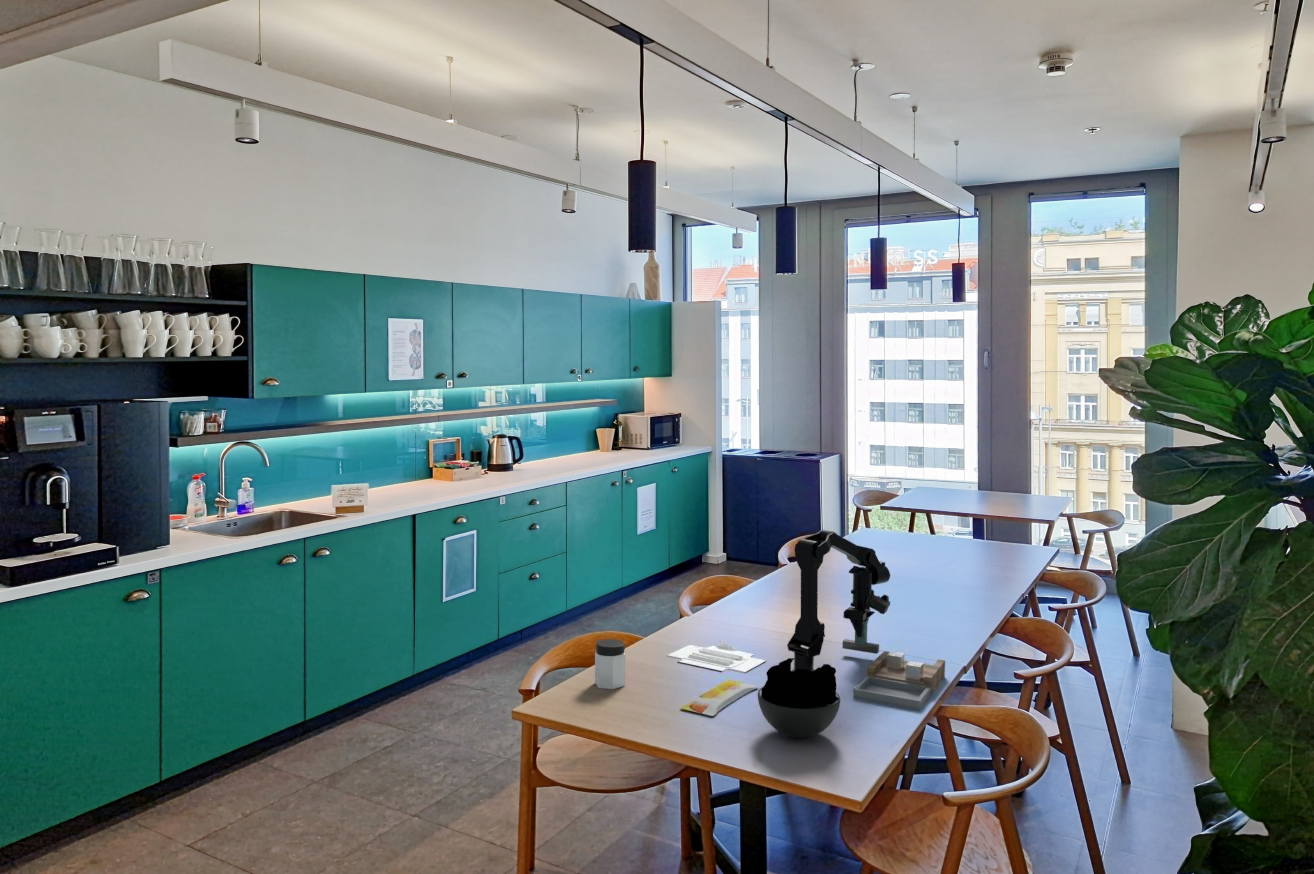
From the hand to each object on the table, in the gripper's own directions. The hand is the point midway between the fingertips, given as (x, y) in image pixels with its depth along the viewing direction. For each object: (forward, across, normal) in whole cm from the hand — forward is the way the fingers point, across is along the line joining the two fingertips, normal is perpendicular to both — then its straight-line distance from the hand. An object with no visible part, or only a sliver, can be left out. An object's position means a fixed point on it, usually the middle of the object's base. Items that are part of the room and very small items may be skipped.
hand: (860, 635), depth 282 cm
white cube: (+4, -14, -14) cm, 20 cm away
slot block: (+7, -15, -18) cm, 24 cm away
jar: (+7, -62, +54) cm, 83 cm away
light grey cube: (+4, -20, -22) cm, 30 cm away
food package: (+8, -56, +22) cm, 61 cm away
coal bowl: (+7, -69, -5) cm, 70 cm away
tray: (+8, -25, +38) cm, 46 cm away
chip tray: (+7, -30, -18) cm, 36 cm away
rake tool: (+5, 0, 0) cm, 5 cm away
